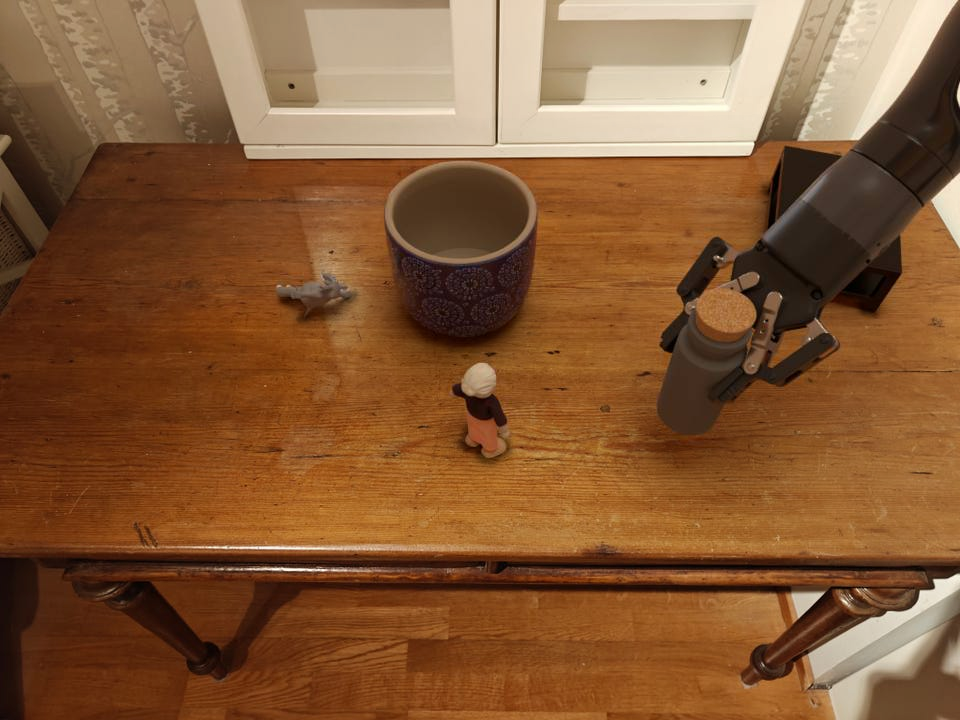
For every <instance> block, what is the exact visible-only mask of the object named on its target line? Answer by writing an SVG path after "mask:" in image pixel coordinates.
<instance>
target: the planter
mask: <svg viewBox="0 0 960 720" xmlns="http://www.w3.org/2000/svg"><path fill="white" fill-rule="evenodd" d="M383 208H384V209H383V221H384V223H383V224H384V232H385V240H386V247H387V253H388V258H389V263H390V269H391V273H392V274H391V275H392V278H393V282H394V285H395V288H396V291H397V294H398V297H399V300H400V301H401V303H402V305H403V306H404V308H405V310H406V311H407V313H408V314H409V315H410V316H411V317H412V318H413V319H414V320H415V321H416V322H418V323H419V324H420V325H422V326H423V327H425V328H427V329H429V330H431V331H432V332H435V333H438V334H440V335H444V336H447V337H453V338H469V337H470V338H471V337H478V336H482V335H485V334H488V333H491V332H494V331H495V330H497V329H500V327H503V326H504V325H505V324H507V323H508V322H509V321H511V319H513V318H514V317H515V316H516V315H517V313H518V312H519V311H520V310H521V308H522V307H523V305H524V303H525V301H526V300H527V299H526V298H527V297H528V295H529V291H530V288H531V283H532V280H533V273H534V268H535V261H536V260H535V259H536V250H537V240H538V224H539V217H538V215H539V213H538V204H537V200H536V197H535V196H534V193H533V192H532V190H531V189H530V188H529V186H528V185H527V184H526V183H525V182H524V181H523V180H522V179H521V178H519V177H518V176H517V175H515V174H514V173H512V172H511V171H508V170H506V169H504V168H502V167H500V166H498V165H497V166H496V165H493V164H490V163H486V162H480V161H473V160H453V161H452V160H451V161H444V162H439V163H435V164H431V165H427V166H424V167H422V168H420V169H418V170H416V171H414V172H412V173H410V174H409V175H407V176H406V177H404V178H403V179H402V180H401V181H400V182H399V183H398V184H397V185H396V186H394V188H393V189H392V190H391V191H390V193H389V194H388V196H387V199H386V201H385V205H384V207H383Z"/></svg>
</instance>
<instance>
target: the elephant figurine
mask: <svg viewBox="0 0 960 720" xmlns="http://www.w3.org/2000/svg"><path fill="white" fill-rule="evenodd" d="M324 271H325V270H324V269H322V270H321V271H320V273H319V279H320V280H321V282H318V281H308V282H304V283H303V284H302V285H301V287H299V286H298V285H294V286H292V285H290V284H286V286H283V285H281V284H277V285H276V288H275V293H276V296H277V297H278V298H288V297H289V298H291V300H294V299H296V300H297V299H299V300H300V301H301V303H302V304H303V305H304V306H305V307H306V312H305V313H304V315H303V317H302V318H303V319H305V318H306V316H307V315H308V314H309V313H310V312H311V310H313V309H314V308H320V307H323V306H325V305H326V304H328V303H330V302H331V301H332V300H337V299H339V298H343V299H347V298H351V296H353V292H352V290H351V289H350V290H348V288H349V286H348V285H346V284H341V283H339V280H337V278H336V277H335V276H334V275H333V274H332V273H331V272H332V269H330V270H329V271H328V272H325V273H324ZM322 283H323V284H324V285H323V284H322Z"/></svg>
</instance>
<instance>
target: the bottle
mask: <svg viewBox="0 0 960 720" xmlns="http://www.w3.org/2000/svg"><path fill="white" fill-rule="evenodd" d="M716 288H717V287H716ZM755 320H756V310H755V307H754V305H753V303H752V302H751V301H750V300H749V299H748V298H747V297H746V296H745V295H743V294H741V293H739V292H737V291H734V290H731V289H726V288H717V289H715V288H712V289H709V290H705V291H704V292H703V293H702V295H701V296H700V297H699V298H698V300H697V303H696V308H695V309H694V310H693V311H692V312H691V314H690V316H689V319H688V323H687V325H685V326H684V327H683V328H682V330H681V331H680V334H679V336H678V338H677V341H676V344H675V347H674V350H673V353H671V357H670V358H669V359H670V360H669V363H668V366H667V369H666V372H665V375H664V378H663V381H662V384H661V387H660V391H659V394H658V397H657V400H656V411H657V412H656V413H657V415H658V418H659V419H660V422H661V423H663V425H664V426H665V427H667V428H668V429H669V430H670V431H672V432H674V433H677V434H679V435H684V436H687V437H690V436H692V437H693V436H695V437H696V436H700V435H703V434H705V433H707V432H709V431H710V430H711V429H712V428H713V427H714V426H715V424H716V423H717V420H718V419H719V417H720V415H721V413H722V410H723V408H724V406H725V405H726V404H725V403H722V404H720V405H717V404H713V403H712V402H711V401H710V400H709V399H708V398H707V396H708V395H709V394H710V393H711V392H712V391H713V390H714V389H715V388H716V387H717V386H718V385H719V384H720V383H721V382H722V381H723V380H724V379H725V378H726V377H727V376H728V375H729V374H730V373H731V372H732V371H733V370H734V369H735V368H736V367H737V366H738V367H741V368H742V367H743V366H744V363H745V360H746V358H747V355H748V352H749V350H748V349H749V348H748V344H749V342H750V341H751V339H752V336H753V328H752V325H753V324H754V322H755Z"/></svg>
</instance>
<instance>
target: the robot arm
mask: <svg viewBox="0 0 960 720" xmlns="http://www.w3.org/2000/svg"><path fill="white" fill-rule="evenodd" d="M959 87H960V0H957V1H956V2H955V3H954V5H953V6H952V7H951V9H950V11H949V12H948V14H947V15H946V16H945V18H944V20H943V21H942V23H941V25H940V27H939V29H938V30H937V32H936V34H935V36H934V38H933V39H932V40H931V43H930V45H929V47H928V49H927V51H926V52H925V54H924V56H923V58H922V59H921V61H920V62H919V64H918V66H917V67H916V69H915V71H914V72H913V74H912V75H911V77H910V78H909V79H908V82H907V83H906V85H905V86H904V87H903V89H902V90H901V92H900V93H899V94H898V96H897V97H896V99H895V100H894V101H893V102H892V104H891V105H890V106H889V107H888V108H887V109H886V111H884V113H883V114H882V115H881V116H880V117H879V118H878V119H877V120H876V122H874V124H872V126H870V127H869V128H868V129H867V131H865V132H864V134H863V135H862V136H861V137H860V138H859V139H858V140H857V141H856V142H855V143H854V144H853V145H852V147H850V148H849V149H848V151H846V153H844V154H843V155H841V156H842V157H841V158H840V159H839V160H838V161H836V162H835V163H834V164H833V165H831V166H830V167H829V168H828V169H827V170H825V171H824V172H823V173H822V174H821V175H820V176H819V177H818V178H817V179H816V180H815V181H814V182H813V183H812V185H811V186H810V187H809V188H808V189H807V190H806V191H805V192H804V193H803V194H802V195H801V196H800V197H799V198H798V199H797V200H796V201H795V202H794V203H793V204H792V205H791V206H790V207H789V208H788V210H787V211H786V212H785V213H784V214H783V215H782V216H781V217H780V218H779V219H778V220H777V221H776V222H775V223H774V224H773V225H772V226H771V227H770V228H769V229H768V230H767V231H766V230H765V231H766V232H764V233H763V234H762V236H761V237H759V239H758V241H757V242H756V243H755V244H754V245H753V246H751V247H750V248H748V249H746V250H743V251H739V250H737V249H736V248H734V247H733V246H732V245H731V244H729V243H728V242H727V241H725V240H724V239H723V238H721V237H720V236H713V237H712V238H711V239H710V240H709V241H708V243H707V245H706V246H705V247H704V248H703V250H702V251H701V253H700V254H699V255H698V257H697V258H696V260H695V261H694V263H693V264H692V266H691V267H690V268H689V269H688V271H687V272H686V274H685V275H684V276H683V278H682V279H681V281H680V282H679V283H678V285H677V286H676V289H675V290H676V295H678V296H679V297H680V299H681V301H682V303H683V308H682V311H681V312H680V313H679V315H678V316H676V317H675V319H673V321H671V323H670V324H669V325H668V326H667V327H666V328H665V329H664V330H663V331H662V333H661V336H660V338H661V341H660V342H659V343H658V344H659V345H658V346H659V348H661V350H662V351H663V352H665V353H669V354H672V353H673V350H674V347H675V344H676V341H677V338H678V336H679V334H680V331H681V330H682V328H683V327H684V326H685V325H687V323H688V319H689V316H690V314H691V312H692V311H693V310H694V309H695V308H696V303H697V300H698V298H699V297H700V296H701V295H702V294H703V293H705V292H706V289H707V288H708V287H709V285H710V284H711V282H713V280H714V278H715V277H716V275H717V274H718V273H719V271H720V270H725V269H727V268H728V267H729V266H730V265H732V264H733V265H732V270H731V274H730V280H729V282H727V283H724V284H722V285H719V286H717V287H715V288H714V289H717V288H726V289H731V290H734V291H737V292H739V293H741V294H743V295H745V296H746V297H747V298H748V299H749V300H750V301H751V302H752V303H753V305H754V307H755V310H756V320H755V322H754V324H753V325H752V330H754V332H753V333H752V335H751V338H750V347H749V350H748V352H747V356H746V359H745V362H744V364H743V366H742V368H741V367H738V366H737V367H736V368H735V369H734V370H733V371H732V372H731V373H730V374H729V375H728V376H727V377H726V378H725V379H724V380H723V381H722V382H721V383H720V384H719V385H718V386H717V387H716V388H715V389H714V390H713V391H712V392H711V393H710V394H709V395H708V396H707V398H708V399H709V400H710V401H711V402H712V403H713V404H717V405H720V404H722V403H725V404H724V405H730V404H732V403H734V402H735V401H736V400H738V398H739V397H741V396H742V395H743V394H744V393H746V391H747V390H748V389H749V388H751V386H752V385H754V383H756V382H758V381H763V382H766V383H767V384H769V385H771V386H775V387H776V388H777V387H778V388H784V387H786V386H788V385H789V384H790V383H792V382H794V381H795V380H797V379H798V378H799V377H801V376H802V375H804V374H806V372H808V371H810V370H811V369H812V368H814V367H815V366H817V365H818V364H820V363H822V362H823V361H824V360H827V358H829V357H830V356H832V355H833V354H834V353H836V352H837V351H838V350H840V348H841V342H840V340H839V339H838V337H836V336H834V335H833V334H831V333H830V332H829V330H828V329H827V328H826V326H825V325H823V323H822V322H821V321H820V318H821V315H822V313H823V310H824V308H825V307H826V306H827V305H828V304H829V302H831V301H833V300H834V298H835V297H836V296H838V295H837V294H838V293H839V292H840V291H841V290H843V289H844V288H845V287H846V286H847V285H848V284H849V283H850V282H851V281H852V280H853V279H854V278H855V277H856V276H857V275H858V274H859V273H860V272H861V271H862V270H864V269H865V268H866V267H867V266H868V265H869V264H870V263H871V262H872V261H873V260H874V259H875V258H876V257H877V256H879V255H881V254H882V253H883V252H885V251H886V250H887V249H888V248H889V246H890V244H891V243H892V242H893V241H894V240H895V239H896V238H897V237H898V236H899V235H900V236H901V235H902V233H903V232H904V231H905V230H906V229H907V227H908V226H909V225H910V224H911V222H912V221H913V220H914V218H915V217H916V216H917V215H918V214H919V213H920V212H921V211H922V210H923V208H924V207H926V206H927V205H928V204H929V203H930V202H931V201H932V200H933V199H934V198H936V196H937V195H938V194H939V193H940V192H942V191H943V190H944V189H945V188H946V187H947V186H948V185H949V184H950V183H951V182H952V180H954V179H955V178H956V177H957V176H958V175H959V174H960V103H959V99H958V92H959ZM806 328H807V332H806V334H805V335H804V336H803V337H802V339H801V345H802V346H801V347H799V348H798V349H796V350H795V351H794V352H792V353H791V354H790V355H788V356H787V357H785V358H784V359H782V360H781V361H780V362H778V363H777V364H775V365H774V366H772V367H771V364H772V361H773V359H774V356H775V354H777V352H778V351H779V350H780V347H781V344H782V341H783V339H784V337H785V334H786V332H791V331H795V330H796V331H797V330H800V329H801V330H802V329H806Z"/></svg>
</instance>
